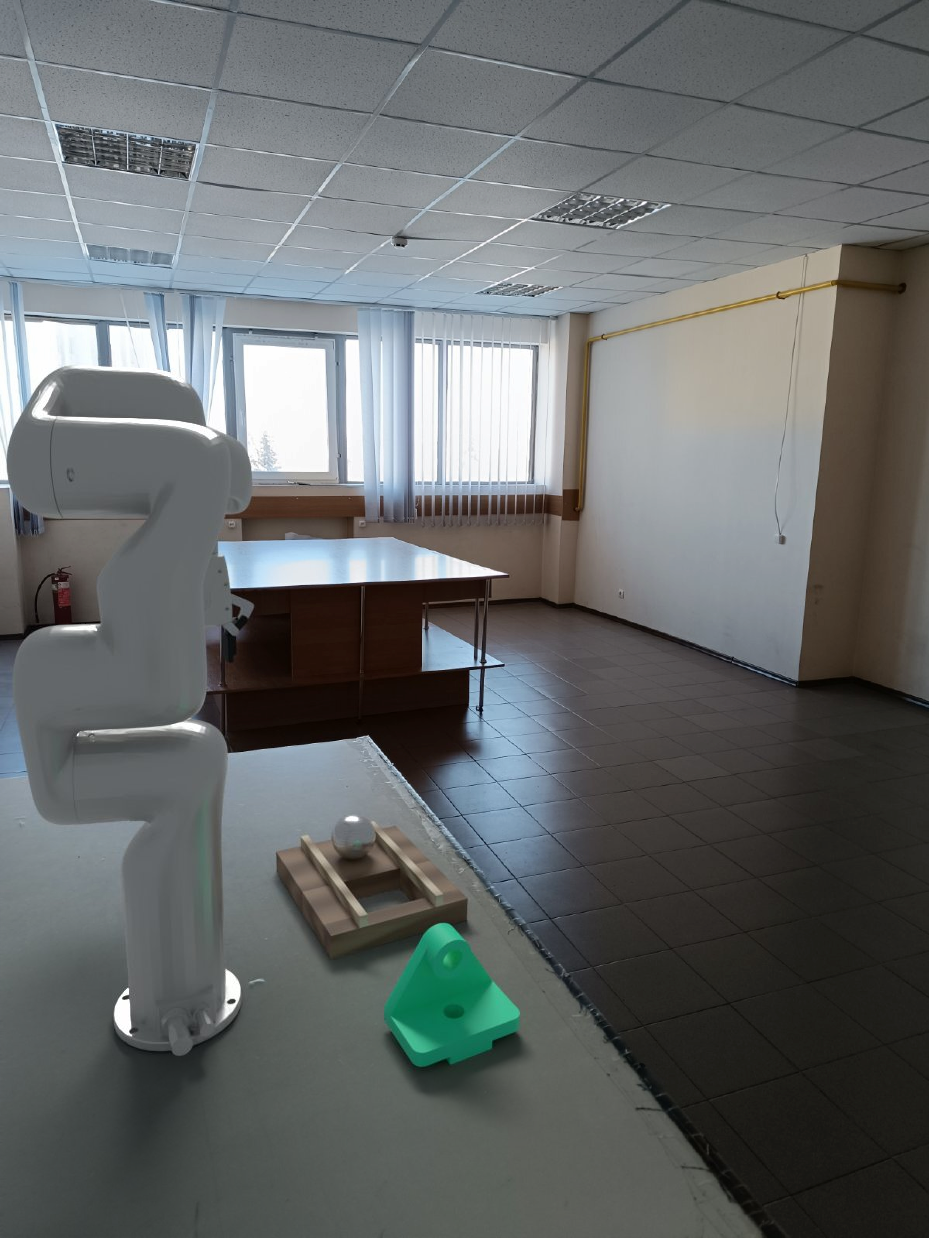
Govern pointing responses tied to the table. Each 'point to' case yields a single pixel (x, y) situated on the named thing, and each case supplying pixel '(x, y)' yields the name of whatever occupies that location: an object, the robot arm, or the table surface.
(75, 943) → the table surface
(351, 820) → the steel ball
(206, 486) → the robot arm
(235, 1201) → the table surface
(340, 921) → the walnut board
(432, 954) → the camera mount
